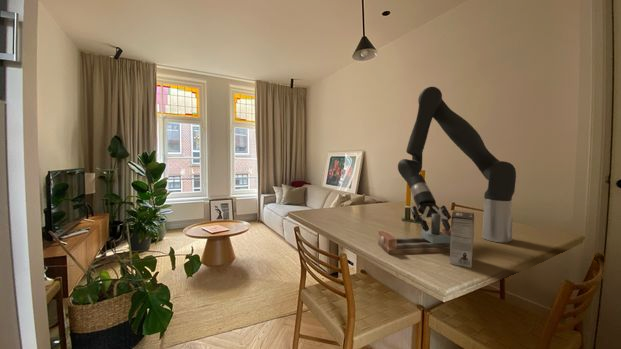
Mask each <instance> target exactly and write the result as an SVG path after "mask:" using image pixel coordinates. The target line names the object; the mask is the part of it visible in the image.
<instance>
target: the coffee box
mask: <svg viewBox="0 0 621 349" xmlns="http://www.w3.org/2000/svg"><path fill="white" fill-rule="evenodd" d="M450 220H451V224H450V227H451V228H450V230H451V246H450V252H449V265H454V266H455V265H456V266H459V267H465V268H470V269H472V268H473V254H474V253H473V252H474V236H475V234H474V233H475V232H474V230H475V214H474V212H466V211H452V214H451V219H450Z"/></svg>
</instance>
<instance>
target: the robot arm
mask: <svg viewBox="0 0 621 349" xmlns="http://www.w3.org/2000/svg"><path fill="white" fill-rule="evenodd" d="M417 102H418V110H417V115H416V119H415V122H414V124H413V128H412V130H411V134H410V136H409V139H408V143H407V147H406V153H407V154H408V155H411V159H407V158H403V159H400V161H399V162H398V164H397V170H398V173H399V174H400V176H401V178H403V179H404V181H405V182H406V183H407V186H409V187H408V188H409V190H410V194H411V196H412V199H413V201H414V203H415V205H413V206H412V207H411V209H410V211H411V214H412V217H413V221H414V223H420V226H421V228H422V231H430V227H429V225H428V223H427V220H426V218H428V219H429V218H432V214H433V213H436V214H440V223H441V222H442V226H443V229H445V230H446V231H449V230H451V224H450V222H449V221H450V220H451V219H452V215H451V214H450V212H449V211H448V209H447V207H446V206H445V204H444V205H442V206H439V205H437V202H436V199H435V197H434V195H433V193H432V191H431V189H430V187H429V185H428V184H427V182H426V180H425V178H424V177H423V175H422V174H421V172H422V169H423V152H424V150H425V145H426V142H427V138H428V134H429V130H430V126H431V124H432V121H433V119H434V120H435V121H436V123H437V124H438V126H440V127H441V130H442V131H443V132H444V133H445V134H446V136H448V137H449V139H450V140H451V141H452V142H453V143H454V144H455V145H456V146H457V147H458V148H459V150H461V151H462V153H464V154H465V155H466V156H467V157H468V158H469V159H470V160H471V161H472V162H473V163H474V164H475V166H476V168H477V169H478V170H479V171H480V173H481V174H482V176H483V177H484V178H485V179H486V180H487V181H488V183H487V189H486V190H485V192H484V195H483V196H484V197H483V199H484V200H483V217H482V218H483V219H482V221H483V222H482V239H485V240H487V241H490V242H493V243H494V242H495V243H500V244H501V243H504V244H505V243H509V242H512V241H513V226H514V224H513V220H514V219H513V218H512V202H513V196H514V194H515V191H516V189H515V188H516V182H517V181H516V180H517V171H516V168H515V166H514V165H513V164H512V163H511V162H508V161H505V160H504V161H503V160H502V161H501V160H499V159H498V158H497V157H496V156H494V155H493V154H492V153H491V152H490V151H489V150H488V148H487V147H486V145H485V143H484V140H483V139H482V137H481V135H480V134H479V132H478V130H476V129H475V128H474V127H473V126H472V124H470V123H469V122H468V121H467V120H466V119H464V118H463V117H462V116H461V115H459V114H457V113H456V112H454V111H453V110H452V109H451V108H450V107H449V106H448V104H447V103H446V102H445V101H444V100H443V94H442V91H441V90H440V88H438V87H436V86H428V87H426V88H424V89H423V90H421V92H420V93H419V94H418V98H417ZM419 213H420V214H421V216H420V214H419Z"/></svg>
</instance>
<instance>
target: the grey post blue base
mask: <svg viewBox="0 0 621 349" xmlns="http://www.w3.org/2000/svg"><path fill="white" fill-rule="evenodd" d="M430 226H431V227H430V228H431V229H430V230H428V231H425V230H421V231H420V238H424V239H426V240H428V241H429V242H431V243H433V244H434V243H450V241H451V237H450V236H448V235H446V234H444V233H442V231H441V221H440V214H436V213H433V214H432V217H431V225H430Z"/></svg>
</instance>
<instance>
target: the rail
mask: <svg viewBox="0 0 621 349" xmlns="http://www.w3.org/2000/svg"><path fill="white" fill-rule="evenodd" d="M377 232H378V233H377V234H378V235H377V236H378V237H377V238H378V239H377V240H378V243H377V244H378V246H379V247H380V248H381V249H382V250H383V251H384V252H385V253H386V254H387V255H401V254H402V255H404V254H407V255H408V254H409V255H410V254H425V253H426V254H429V253H431V254H432V253H450V246H451V241H450V243H434V244H433V243H431V242H429V241H428V240H426V239H424V238H423V237H403V238H399V237H398V238H396V237H394V236H393V235H392V234H390V233H389V232H388V231H386V230H378V231H377ZM441 232H442V233H444V234H446V235H448V236H450V237H451V229H450V230H449V231H446V230H445V228H443V229H441Z"/></svg>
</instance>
